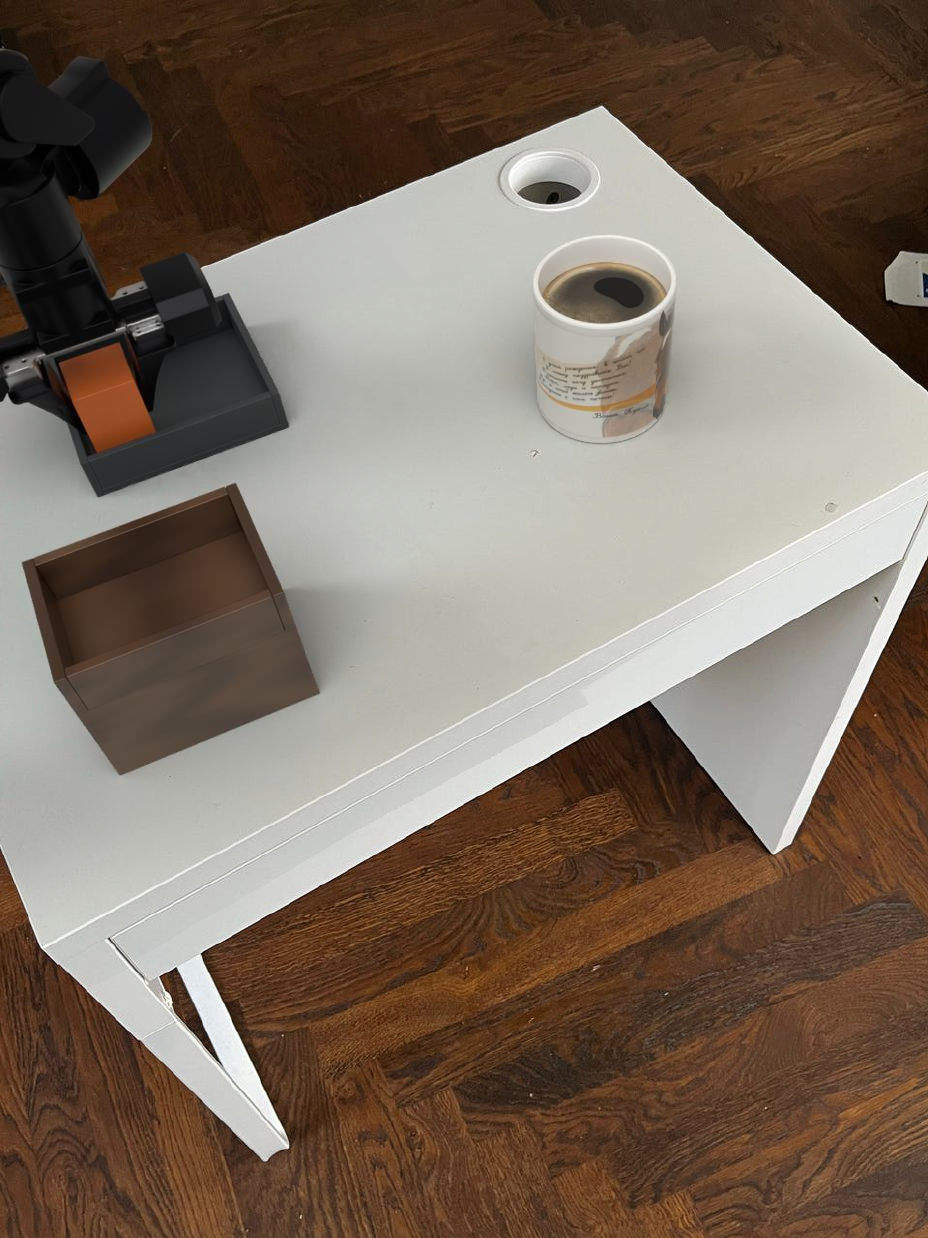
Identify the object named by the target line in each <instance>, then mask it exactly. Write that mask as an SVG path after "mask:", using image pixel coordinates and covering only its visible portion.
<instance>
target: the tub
mask: <svg viewBox="0 0 928 1238" xmlns="http://www.w3.org/2000/svg"><path fill="white" fill-rule="evenodd" d="M214 298H215V300H216V303H217V306H218V309H219V313H220V316H221V319H222V321H221V322H220V323H219V325H218V326H217V327H216V328H213V329H210V330H207V331H205V332H202V333H199V334H196V335H193V336H190V337H187V338H184V339H178V338H175V337H174V339H175V342H176V349H175V350H174V351H172V352H170V353H167V354H166V355H165V356H164V359H163V362H162V365H161V368H160V371H159V374H158V378H157V383H156V391H155V399H154V407H153V411H151V412H149V415H150V417H151V420H152V422H153V425H154V427H155V430H156V432H154V433H151V434H148V435H146V436H143V437H140V438H137V439H135V440H132V441H129V442H126V443H123V444H121V445H118V446H115V447H112V448H110V449H107V450H104V451H101V452H98V453H97V451H96V449H95V447H94V445H93V443H92V441H91V439H90V437H89V435H88V434H87V435H84V434H83V433H81V432H80V431H78V430H77V429H75V428H74V427H72V426H71V425H69V424H68V423H66V425H67V428H68V430H69V434H70V437H71V440H72V444H73V446H74V449H75V453H76V455H77V457H78V461H79V464H80V466H81V468H82V470H83V472H84V474H85V476H86V478H87V480H88V482H89V483H90V485H91V487H92V490H93V491H94V493H95V495H96V497H97V498H100V497H102V496H105V495H107V494H110V493H113V492H116V491H119V490H122V489H124V488H126V487H129V486H133V485H134V484H137V483H140V482H143V481H145V480H148V479H152V478H153V477H157V476H159V475H162V474H164V473H167V472H170V471H173V470H175V469H178V468H181V467H184V466H187V465H189V464H192V463H195V462H197V461H200V460H203V459H205V458H208V457H211V456H215V455H216V454H219V453H222V452H225V451H228V450H230V449H233V448H236V447H238V446H241V445H244V444H246V443H247V444H248V443H250V442H252V441H255V440H257V439H261V438H263V437H266V436H269V435H271V434H274V433H276V432H279V431H282V430H285V429H287V428H289V427H290V426H289V425H290V424H289V422H288V418H287V414H286V410H285V407H284V405H283V404H284V403H283V401H282V397H281V394H280V391H279V390H278V387H277V385H276V383H275V381H274V380H273V377H272V375H271V373H270V371H269V370H268V367H267V366H266V364H265V361H264V359H263V357H262V356H261V354H260V352H259V350H258V347H257V345H256V344H255V342H254V340H253V337H252V335H251V333H250V332H249V329H248V328H247V326H246V323H245V322H244V320H243V317H242V316H241V313H240V312H239V310H238V307H237V306H236V304H235V302H234V300H233V298H232V296H231V294H230V292H227V293H223V294H222V295H218V296H214ZM116 343H120V345H121V347H122V350H123V352H124V355H125V357H126V359H127V362H128V364H129V366H130V369H131V371H132V374H133V376H134V378H135V375H134V371H133V367H132V363H131V359H130V355H129V351H128V347H127V343H126V339H125V336H124V332H120V333H117V334H114V335H111V336H109V337H106V338H103V339H100V340H97V341H94V342H91V343H88V344H85V345H82V346H79V347H76V348H73V349H71V350H68V351H65V352H62V353H59V354H56V355H53V356H50V357H47V359H48V361H49V363H50V364H51V366H52V368H53V369H54V371H55V372H56V374H57V375H58V377H59V378H60V380H61V381H62V383H63V384H64V386H65V387H66V389H67V390H68V388H67V385H66V382H65V379H64V377H63V374H62V371H61V368H60V365H59V363H60V362H63V361H66V360H69V359H72V358H75V357H78V356H81V355H84V354H87V353H90V352H93V351H95V350H98V349H101V348H104V347H107V346H110V345H113V344H116ZM135 381H136V379H135ZM68 392H69V391H68Z"/></svg>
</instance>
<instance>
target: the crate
mask: <svg viewBox="0 0 928 1238" xmlns="http://www.w3.org/2000/svg"><path fill="white" fill-rule="evenodd" d="M21 565H22V570H23V572H24V576H25V577H24V578H25V579H26V584H27V588H28V592H29V595H30V599H31V602H32V606H33V610H34V615H35V618H36V620H37V621H36V622H37V625H38V629H39V633H40V636H41V640H42V643H43V648H44V651H45V655H46V658H47V662H48V666H49V670H50V674H51V677H52V681H53V684H54V685H55V686H56V688H57V689H58V691H59V692H60V694H61V695H62V697H63V698H64V700H65V701H66V702H67V704H68V705H69V706H70V708H71V710H72V711H73V713H74V714H75V715H76V716H77V718H78V719H79V720H80V722H81V723H82V725H83V726H84V727H85V729H86V730H87V732H88V733H89V735H90V736H91V737H92V739H93V740H94V742H95V743H96V744H97V746H98V748H99V749H100V750H101V751H102V753H103V754H104V756H105V757H106V758H107V760H108V762H109V763H110V764H111V765H112V767H113V769H114V770H115V771H116V773H117V774H118V776H122V775H124V774H127V773H129V772H132V771H134V770H136V769H139V768H141V767H144V766H146V765H148V764H151V763H154V762H156V761H159V760H160V759H163V758H165V757H168V756H170V755H174V754H175V753H178V752H181V751H183V750H186V749H188V748H190V747H193V746H195V745H198V744H199V743H202V742H205V741H207V740H209V739H212V738H214V737H216V736H219V735H222V734H224V733H227V732H229V731H232V730H234V729H237V728H239V727H241V726H244V725H246V724H249V723H251V722H254V721H255V720H258V719H260V718H263V717H266V716H268V715H271V714H273V713H275V712H278V711H281V710H282V709H285V708H288V707H290V706H293V705H295V704H298V703H299V702H302V701H305V700H307V699H309V698H312V697H314V696H317V695H319V694H320V690H319V686H318V683H317V681H316V679H315V678H316V677H315V675H314V673H313V669H312V667H311V664H310V660H309V659H308V656H307V652H306V650H305V647H304V644H303V641H302V639H301V636H300V633H299V630H298V627H297V625H296V622H295V619H294V616H293V613H292V610H291V608H290V604H289V602H288V599H287V596H286V593H285V591H284V588H283V586H282V584H281V582H280V580H279V577H278V574H277V573H276V570H275V568H274V566H273V563H272V561H271V558H270V556H269V555H268V553H267V549H266V547H265V545H264V543H263V541H262V539H261V536H260V534H259V531H258V529H257V527H256V525H255V523H254V520H253V518H252V515H251V513H250V511H249V509H248V506H247V503H246V502H245V499H244V497H243V495H242V492H241V491H240V488H239V486H238V483H237V482H234V483H230V484H229V485H226V486H223V487H220V488H217V489H215V490H212V491H209V492H207V493H204V494H201V495H198V496H196V497H193V498H190V499H188V500H185V501H181V502H180V503H177V504H174V505H172V506H169V507H166V508H163V509H160V510H158V511H156V512H153V513H150V514H147V515H144V516H142V517H139V518H136V519H134V520H132V521H129V522H125V523H123V524H121V525H117V526H116V527H112V528H109V529H107V530H105V531H102V532H99V533H96V534H93V535H91V536H88V537H86V538H83V539H80V540H77V541H75V542H72V543H69V544H67V545H64V546H61V547H59V548H56V549H54V550H51V551H48V552H45V553H42V554H40V555H37V556H35V557H32V558H30V559H27V560H24V561H21Z"/></svg>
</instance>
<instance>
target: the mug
mask: <svg viewBox="0 0 928 1238" xmlns="http://www.w3.org/2000/svg"><path fill="white" fill-rule="evenodd" d="M531 286H532V312H533V335H534V356H535V359H534V360H535V361H534V362H535V377H536V378H535V381H536V400H537V406H538V408H539V413H540V414H541V416H542V418H544V420H545V421H546V422H547V424H548V425H549V426H551V427H552V428H553V429H554V430H556V431H557V432H558V433H560V434H562V435H564V436H566V437H568V438H570V439H573V440H575V441H576V440H577V441H580V442H585V443H590V444H591V443H592V444H612V443H618V442H622V441H626V440H630V439H633V438H635V437H637V436H639V435H642V434H643V433H645V432H646V431H647V430H649V429H650V428H651V427H652V426H654V425H655V424H656V423H657V421H658V420H659V419H660V417H661V416H662V415H663V413H664V411H665V409H666V407H667V402H668V397H669V395H668V393H669V383H670V374H671V373H670V372H671V360H672V349H673V348H672V347H673V335H674V326H675V315H676V314H675V312H676V301H677V290H678V275H677V271H676V269H675V267H674V264H673V263H672V261H671V259H670V258H669V257H668V256H667V255H666V254H665V253H664V252H663V251H662V250H661V249H659V248H658V247H656V246H654V245H653V244H651V243H649V242H646V241H644V240H642V239H638V238H636V237H632V236H626V235H622V234H621V235H620V234H595V235H588V236H583V237H579V238H575V239H572V240H569V241H567V242H564V243H562V244H560V245H558V247H555V248H554V249H552V250H551V251H549V252H548V253H547V254H546V255H545V256H544V257H543V258H542V259H541V261H540V262H539V264H538V265H537V267H536V268H535V271H534V273H533V276H532V284H531Z"/></svg>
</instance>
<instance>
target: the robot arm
mask: <svg viewBox="0 0 928 1238" xmlns="http://www.w3.org/2000/svg"><path fill="white" fill-rule="evenodd" d="M152 141H153V127H152V121H151V119H150V116H149V113H148V112H147V110H145V109H143V107H142V106H141V104H140V102H139V101H138V100H137V99H136V97H135V96H134V95H133V93H131V92H130V90H128V89H127V88H126V87H125V86H124V85H123V84H121V82H119V81H117V80H116V79H114V78H113V77H111V75H110V71H109V69H108V65H107V63H106V61H104V60H102V59H97V58H92V57H87V56H81V55H79V56H77V57H75V59H73V60H72V61H71V62H70V63H69V64H68V65H66V68H65V69H64V71H63V72H62V73H61V75H60V76H59V77H57V78H56V79H55V80H54V81H53V82H52V83H51V84H49V85H48V86H46V85H44V84H43V83H41V82H40V80H39V78H38V76H37V73H36V71H35V69H34V67H32V65H31V64H30V61H29V59H28V57H27V56H26V55H25V54H23V53H21V52H20V51H16V50H11V49H7V48H1V47H0V289H1V288H4V287H7V288H8V290H9V291H10V293H11V295H12V298H13V300H14V301H15V304H16V305H17V308H18V309H19V312H20V313H21V316H22V318H23V319H24V322H25V324H26V327H25V328H24V329H22V330H19V331H16V332H13V333H10V334H7V335H4V336H1V337H0V403H3V402H4V400H5V398H6V397H7V396H8V399H9V401H10V402H11V403H12V404H13V405H15V406H21V405H23V404H29V405H33V406H35V407H37V408H39V409H40V410H43V411H45V412H48V413H49V414H52V415H54V416H56V417H57V418H59V419H60V420H61V421H63V422H65V423H66V424H67V423H68V424H69V425H71V426H72V427H74V428H75V429H77V430H78V431H80V432H81V433H83V434H84V435H87V434H88V433H87V431H86V429H85V427H84V425H83V423H82V421H81V419H80V417H79V415H78V413H77V411H76V409H75V407H74V405H73V403H72V400H71V397H70V394H69V392H68V390H67V389H66V387H65V386H64V384H63V383H62V381H61V380H60V378H59V377H58V375H57V374H56V372H55V371H54V369H53V368H52V366H51V364H50V363H49V361H48V359H47V357H50V356H53V355H56V354H59V353H62V352H65V351H68V350H71V349H73V348H76V347H79V346H82V345H85V344H88V343H91V342H94V341H97V340H100V339H103V338H106V337H109V336H111V335H114V334H117V333H120V332H124V336H125V339H126V343H127V347H128V351H129V355H130V359H131V363H132V367H133V371H134V375H135V379H136V383H137V386H138V389H139V391H140V394H141V396H142V399H143V401H144V404H145V406H146V408H147V410H148V412H151V411H153V407H154V399H155V391H156V383H157V378H158V374H159V371H160V368H161V365H162V362H163V359H164V356H165V355H166V354H167V353H170V352H172V351H174V350H175V349H176V342H175V339H174V337H175V338H178V339H184V338H187V337H190V336H193V335H196V334H199V333H202V332H205V331H207V330H210V329H213V328H216V327H217V326H218V325H219V323H220V322H221V321H222V319H221V316H220V313H219V309H218V306H217V303H216V300H215V295H214V293H213V290H212V288H211V286H210V284H209V282H208V279H207V278H206V275H205V273H204V272H203V269H202V268H201V266H200V264H199V262H198V259H197V258H196V257H194V256H193V255H191V254H189V253H187V252H185V251H184V252H181V253H178V254H175V255H173V256H169V257H167V258H163V259H161V260H158V261H154V262H152V263H149V264H146V265H143V266H139V272H140V275H141V278H142V280H141V281H138V282H136V283H132V284H129V285H126V286H124V287H121V288H118V290H117V291H116V292H115V294H114V296H113V297H110V294H109V291H108V289H107V285H106V282H105V280H104V277H103V274H102V272H101V270H100V267H99V265H98V262H97V260H96V257H95V255H94V253H93V251H92V249H91V248H90V246H89V243H88V241H87V239H86V236H85V234H84V231H83V229H82V226H81V225H80V222H79V220H78V218H77V215H76V213H75V210H74V208H73V207H74V206H73V205H72V203H71V200H70V197H74V198H76V199H78V200H83V201H88V200H89V201H91V200H95V199H98V198H99V196H101V195H102V193H104V191H106V190H107V189H108V188H109V187H110V186H111V185H112V184H113V183H114V182H115V181H116V180H117V179H118V178H119V177H120V176H121V175H122V174H123V173H124V172H125V171H126V170H127V169H128V168H129V167H130V166H131V165H132V164H133V163H134V162H135V161H136V160H137V159H138V158H139V157H140V156H141V155H142V154H143V153H144V152H145V151H147V149H148V148H149V147H150V145H151V142H152Z"/></svg>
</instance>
